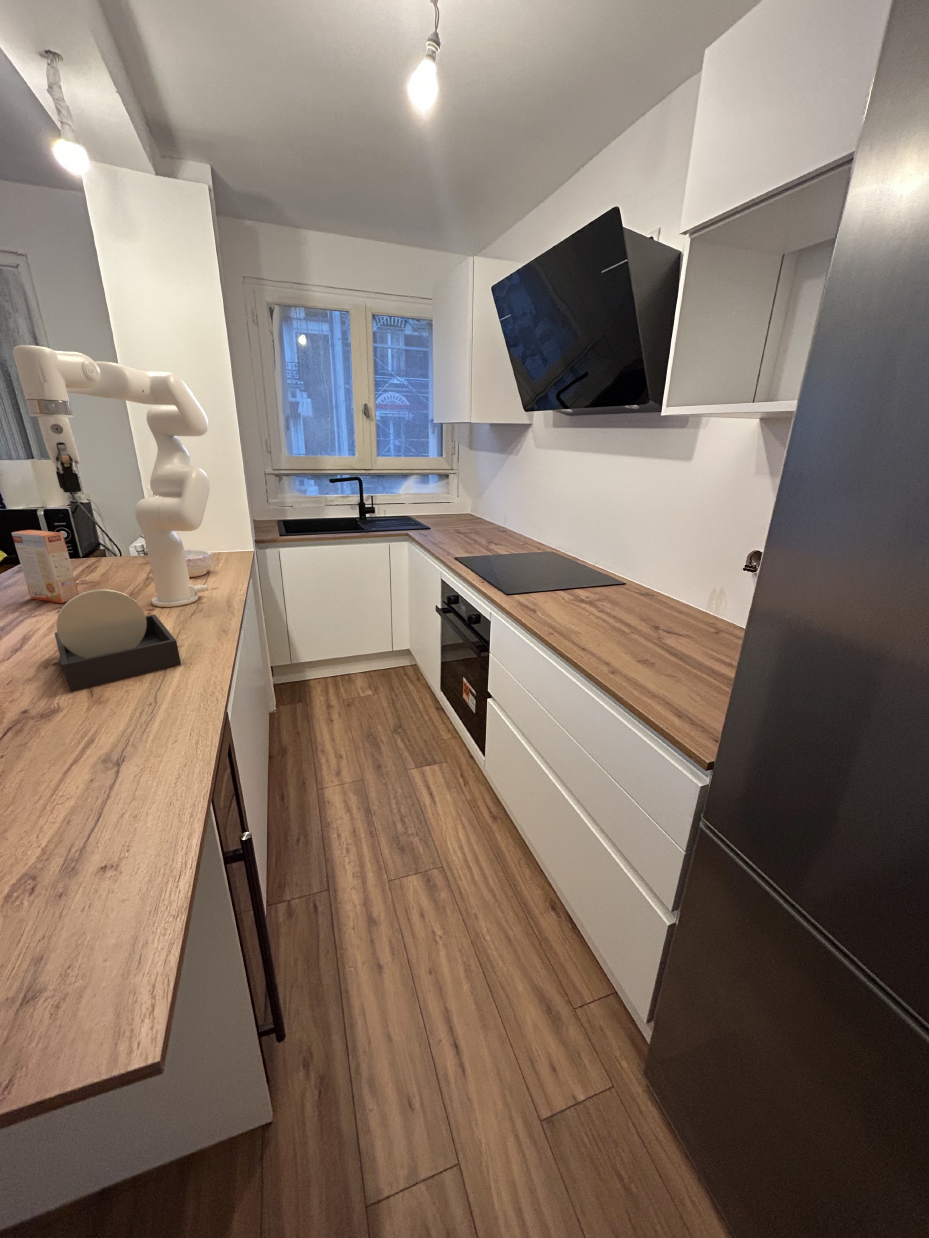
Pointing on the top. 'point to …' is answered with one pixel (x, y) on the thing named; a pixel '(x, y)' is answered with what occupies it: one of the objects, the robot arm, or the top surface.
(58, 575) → the cracker box
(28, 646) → the top surface
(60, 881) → the top surface
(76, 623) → the plate
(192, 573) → the paper bowls
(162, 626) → the sink basin
